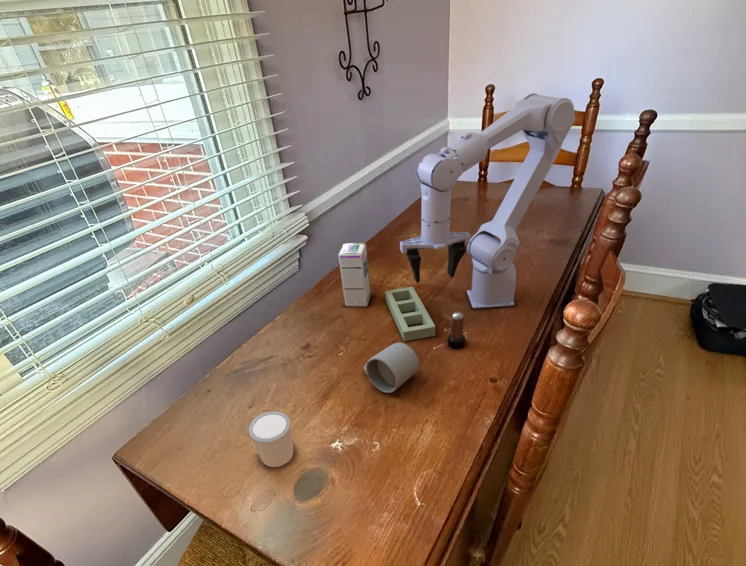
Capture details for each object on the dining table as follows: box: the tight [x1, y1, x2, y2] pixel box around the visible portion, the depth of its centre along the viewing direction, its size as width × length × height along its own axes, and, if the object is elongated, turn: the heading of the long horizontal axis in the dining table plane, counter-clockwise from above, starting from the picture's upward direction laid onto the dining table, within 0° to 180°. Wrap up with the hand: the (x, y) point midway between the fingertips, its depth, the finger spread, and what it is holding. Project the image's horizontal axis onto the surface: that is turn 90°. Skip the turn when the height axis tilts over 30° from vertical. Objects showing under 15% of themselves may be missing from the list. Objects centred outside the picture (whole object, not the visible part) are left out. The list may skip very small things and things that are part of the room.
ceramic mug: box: [363, 341, 420, 394], centre depth 92 cm, size 11×8×8 cm
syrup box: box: [337, 242, 372, 307], centre depth 115 cm, size 6×6×14 cm
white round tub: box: [248, 411, 294, 468], centre depth 80 cm, size 7×7×7 cm
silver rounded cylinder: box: [447, 311, 466, 350], centre depth 99 cm, size 4×4×8 cm
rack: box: [384, 286, 437, 342], centre depth 111 cm, size 7×18×2 cm, turn 8°
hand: (433, 277), depth 104 cm, fingers open, 7 cm apart
